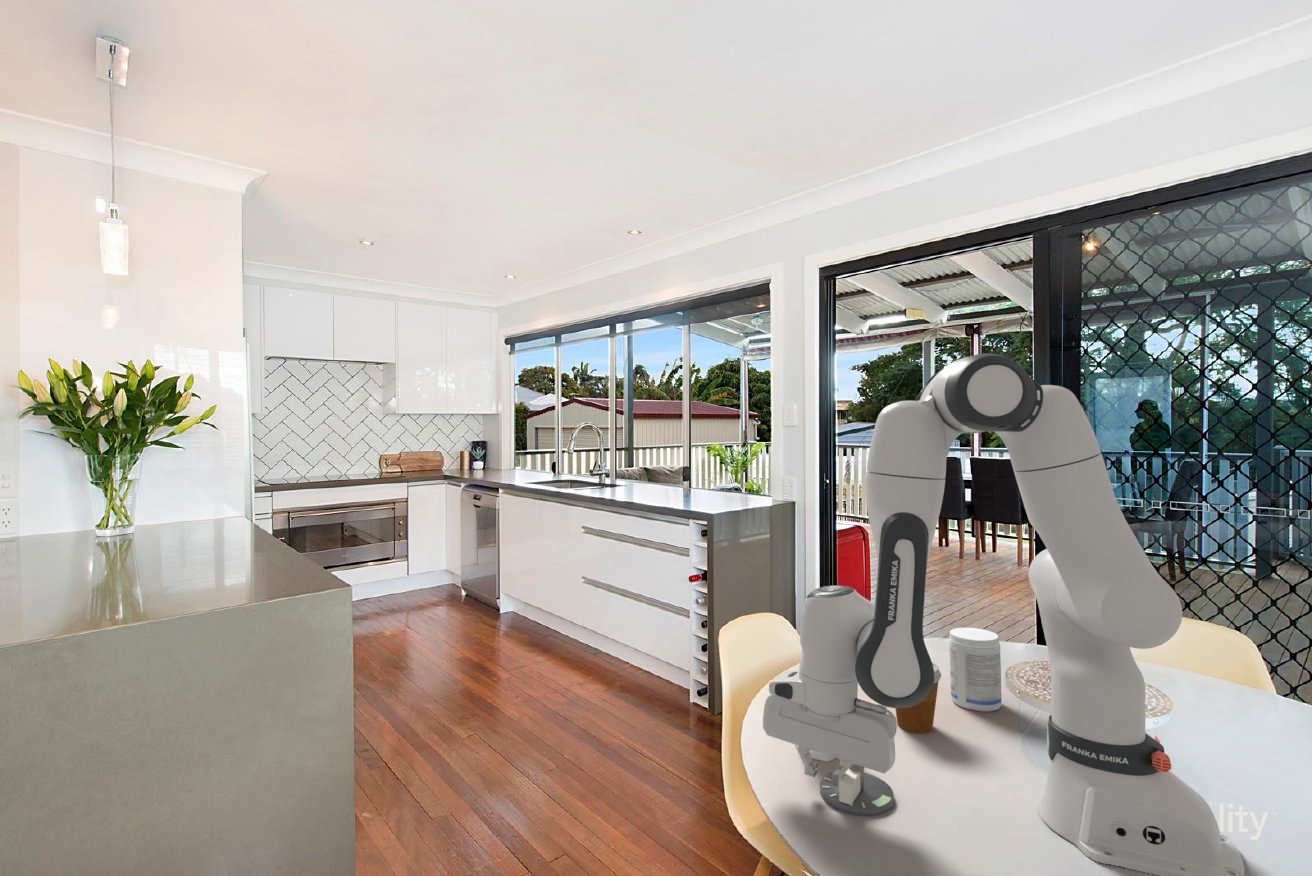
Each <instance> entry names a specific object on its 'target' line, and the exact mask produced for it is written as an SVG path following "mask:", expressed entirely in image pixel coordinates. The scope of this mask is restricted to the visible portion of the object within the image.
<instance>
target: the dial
mask: <svg viewBox="0 0 1312 876" xmlns="http://www.w3.org/2000/svg"><path fill="white" fill-rule="evenodd" d="M833 772H834V771H831V772H828V773H827V774H825V775H823V777H822V778H820V781H819V794H820V796H821V798H822V799H823V801H824V802H825V803H827V804H828V805H829V806H830V807H832V808H834V809H835V810H837V811H840V812H842V813H846V814H849V815H853V816H859V817H875V816H880V815H883V814H886V813H887V812H889V811H890V810H891V809H892V808H893V806H894V803H895V799H894V798H895V795H894V791H893V789H892V787H891V786H890V784H889V783H887V782H886V781H884V780H883V779H881V778H880V777H878V776H876V775H873V774H871V773H867V772H864V790H862V791H860V792H859V794H858V795H857V797H856V799H855V800H854V802H853V803H852V805H850V804H846V803H843V802H840V801H839V786H837V785H834V784H832V780H833V779H832V773H833Z"/></svg>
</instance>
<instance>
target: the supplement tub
mask: <svg viewBox="0 0 1312 876" xmlns="http://www.w3.org/2000/svg"><path fill="white" fill-rule="evenodd" d="M948 638H949V675H950V679H949V680H950V699H951V700H952V702H953V703H954V704H956V706H959V707H960V708H963V709H967V710H970V711H975V712H979V713H980V712H985V713H986V712H987V713H988V712H994V711H998V710H999V709H1000V708H1001V707H1002V703H1003V702H1002V663H1001V662H1002V661H1001V644H1000V638H999V635H998V634H997V633H995V632H994V631H991V630H987V629H983V628H975V627H955V628H952V629H951V630H950V631H949V637H948Z"/></svg>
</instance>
